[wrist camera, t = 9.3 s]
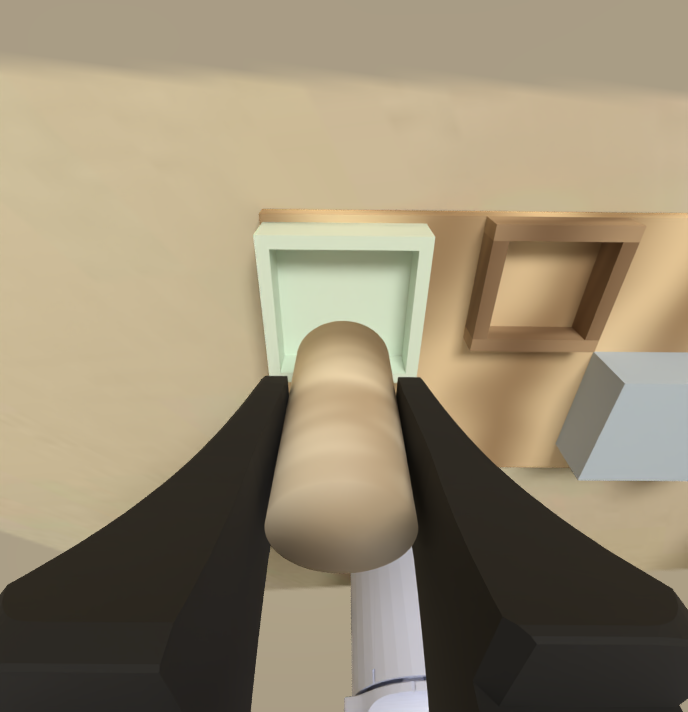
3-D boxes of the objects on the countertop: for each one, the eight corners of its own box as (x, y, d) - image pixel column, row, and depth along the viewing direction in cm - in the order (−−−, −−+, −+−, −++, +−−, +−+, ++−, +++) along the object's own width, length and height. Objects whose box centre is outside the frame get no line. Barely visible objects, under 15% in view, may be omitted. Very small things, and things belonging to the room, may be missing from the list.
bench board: (881, 215, 16) (944, 228, 14) (707, 458, 24) (734, 485, 22) (262, 209, 16) (252, 221, 14) (286, 454, 24) (282, 481, 22)
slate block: (720, 353, 19) (768, 384, 17) (664, 444, 22) (697, 481, 20) (593, 351, 19) (625, 383, 17) (555, 443, 22) (577, 480, 20)
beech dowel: (408, 362, 13) (449, 532, 8) (342, 411, 14) (340, 588, 9) (343, 302, 12) (342, 455, 7) (277, 361, 13) (233, 531, 8)
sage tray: (426, 223, 15) (435, 237, 14) (410, 360, 19) (415, 383, 17) (262, 222, 15) (253, 235, 14) (276, 359, 19) (269, 381, 17)
